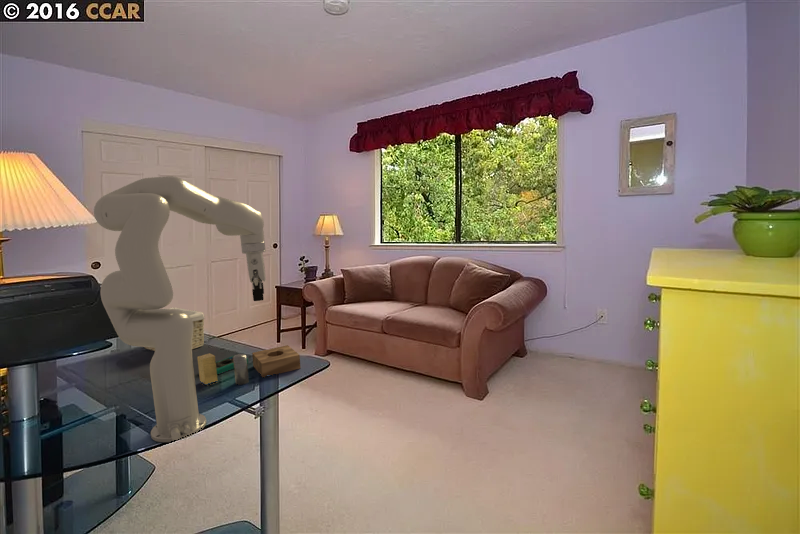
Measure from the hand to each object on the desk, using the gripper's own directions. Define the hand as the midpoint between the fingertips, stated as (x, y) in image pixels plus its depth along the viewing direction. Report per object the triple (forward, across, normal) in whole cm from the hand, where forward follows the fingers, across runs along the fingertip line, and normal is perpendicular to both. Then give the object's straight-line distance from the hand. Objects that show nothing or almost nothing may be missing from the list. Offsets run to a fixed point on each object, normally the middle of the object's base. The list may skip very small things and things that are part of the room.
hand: (259, 297), depth 141 cm
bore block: (+26, 0, -3) cm, 26 cm away
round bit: (+26, -10, +8) cm, 28 cm away
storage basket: (+27, +41, +38) cm, 62 cm away
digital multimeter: (+26, +6, +14) cm, 31 cm away
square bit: (+25, -5, +18) cm, 32 cm away
